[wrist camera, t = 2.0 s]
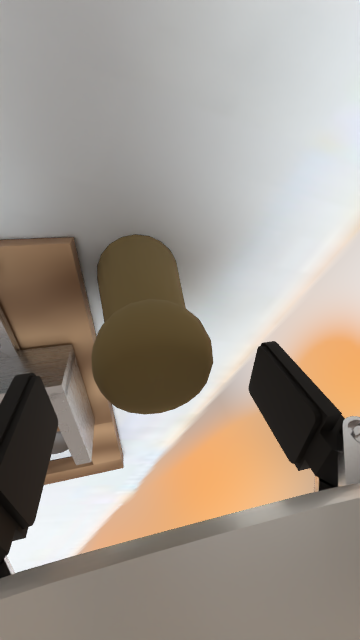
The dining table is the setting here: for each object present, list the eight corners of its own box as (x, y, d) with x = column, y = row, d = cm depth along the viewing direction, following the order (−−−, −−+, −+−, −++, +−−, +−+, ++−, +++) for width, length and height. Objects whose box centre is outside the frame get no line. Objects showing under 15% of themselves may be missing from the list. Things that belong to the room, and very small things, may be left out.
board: (-199, 247, 13) (-231, 256, 12) (73, 237, 16) (69, 243, 14) (4, 480, 28) (-1, 494, 27) (123, 455, 31) (123, 467, 30)
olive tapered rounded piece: (150, 320, 20) (176, 444, 12) (82, 288, 18) (45, 419, 9) (192, 263, 18) (264, 360, 9) (123, 215, 16) (130, 290, 7)
